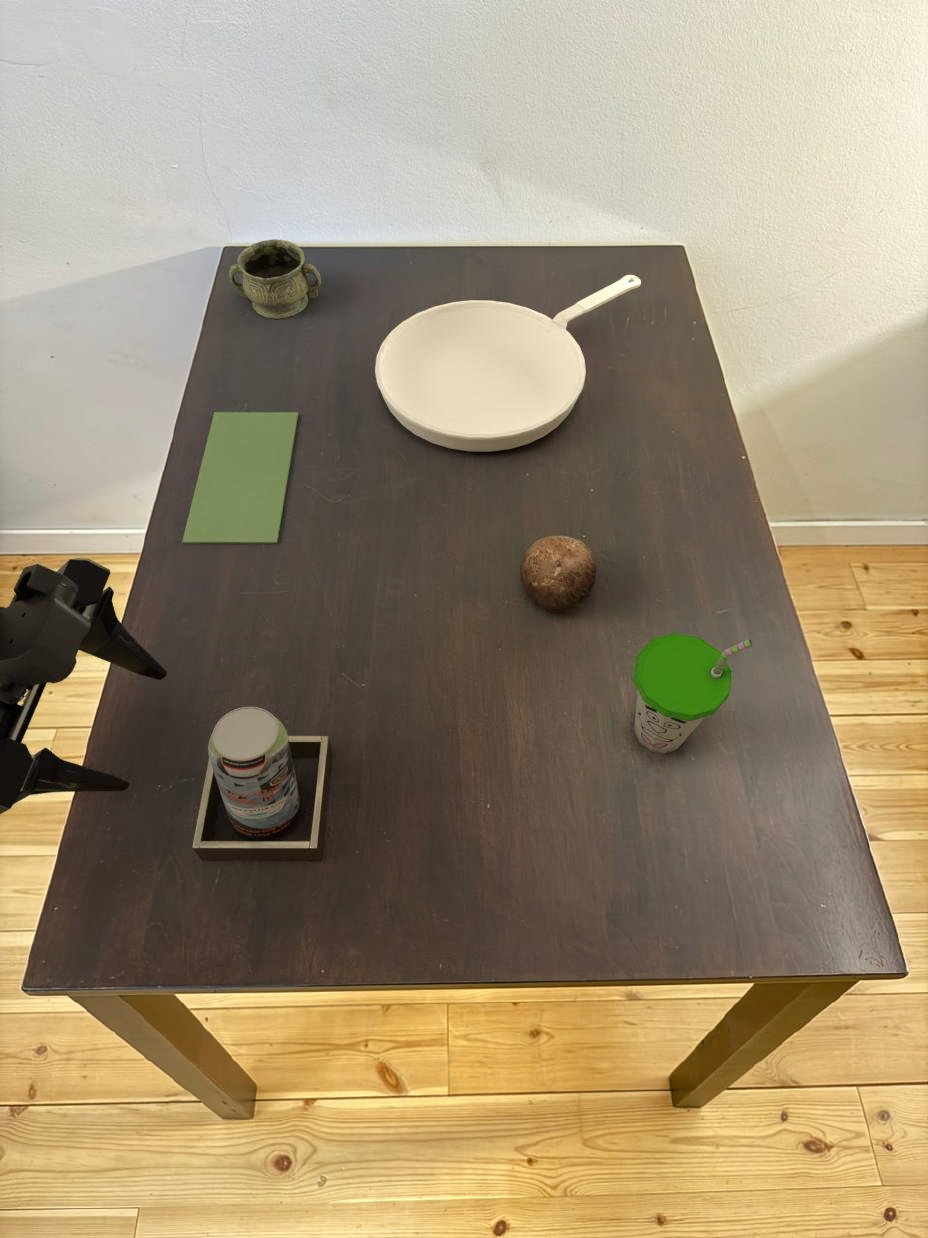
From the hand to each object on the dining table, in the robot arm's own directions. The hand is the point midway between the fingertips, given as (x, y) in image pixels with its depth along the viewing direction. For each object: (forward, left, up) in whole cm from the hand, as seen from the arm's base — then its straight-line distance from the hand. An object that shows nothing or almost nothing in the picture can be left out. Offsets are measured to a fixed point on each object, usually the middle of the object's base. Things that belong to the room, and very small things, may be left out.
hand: (146, 729), depth 63 cm
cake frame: (+7, -1, -13) cm, 15 cm away
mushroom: (+33, +22, -13) cm, 42 cm away
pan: (+31, +57, -13) cm, 66 cm away
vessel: (-1, +70, -13) cm, 72 cm away
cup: (+41, +6, -13) cm, 44 cm away
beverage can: (+7, -1, -13) cm, 15 cm away
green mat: (-1, +38, -13) cm, 41 cm away
